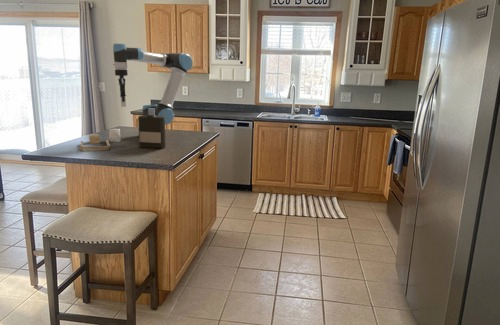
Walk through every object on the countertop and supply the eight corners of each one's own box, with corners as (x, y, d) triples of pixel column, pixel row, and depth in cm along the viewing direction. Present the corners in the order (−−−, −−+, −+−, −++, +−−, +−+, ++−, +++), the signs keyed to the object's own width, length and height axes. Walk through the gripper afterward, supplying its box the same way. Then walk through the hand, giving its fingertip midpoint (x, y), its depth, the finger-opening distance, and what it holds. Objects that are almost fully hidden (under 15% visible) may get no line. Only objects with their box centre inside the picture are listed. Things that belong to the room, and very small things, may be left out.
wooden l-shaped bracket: (81, 144, 231) (80, 141, 230) (108, 143, 238) (108, 140, 237) (80, 151, 213) (80, 147, 213) (110, 149, 220) (110, 146, 219)
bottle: (142, 145, 236) (140, 107, 229) (166, 146, 235) (165, 108, 229) (138, 148, 228) (136, 108, 222) (163, 149, 228) (162, 109, 221)
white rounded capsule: (109, 140, 247) (108, 128, 245) (120, 139, 250) (119, 128, 248) (110, 142, 241) (109, 130, 239) (121, 141, 244) (120, 130, 242)
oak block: (89, 142, 239) (89, 134, 238) (99, 141, 242) (98, 134, 241) (89, 143, 234) (89, 136, 233) (99, 143, 237) (99, 136, 235)
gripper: (114, 68, 231) (116, 105, 238) (115, 69, 220) (118, 107, 226) (126, 69, 234) (128, 105, 241) (128, 69, 223) (130, 107, 229)
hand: (123, 106), depth 234 cm, fingers closed
